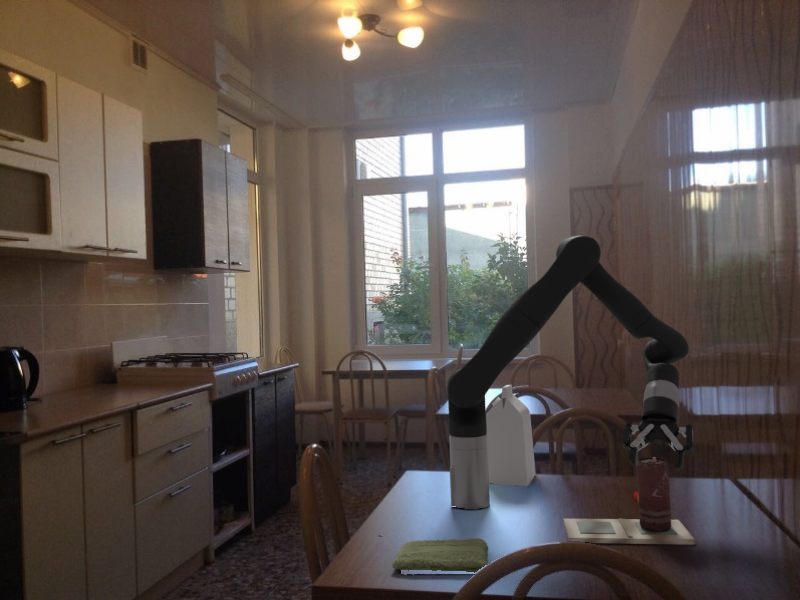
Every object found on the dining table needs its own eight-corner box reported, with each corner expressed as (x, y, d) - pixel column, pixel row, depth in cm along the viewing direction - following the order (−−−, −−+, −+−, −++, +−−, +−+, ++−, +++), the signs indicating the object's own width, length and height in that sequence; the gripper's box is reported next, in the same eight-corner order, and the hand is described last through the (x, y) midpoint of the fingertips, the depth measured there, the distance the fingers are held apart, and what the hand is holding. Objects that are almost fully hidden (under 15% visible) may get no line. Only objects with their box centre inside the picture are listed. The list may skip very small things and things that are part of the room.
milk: (527, 486, 174) (523, 388, 174) (485, 483, 178) (481, 388, 178) (535, 475, 185) (531, 383, 185) (495, 472, 189) (492, 383, 190)
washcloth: (400, 551, 131) (399, 535, 131) (488, 552, 129) (487, 535, 129) (391, 578, 118) (390, 560, 118) (489, 579, 116) (488, 561, 116)
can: (670, 523, 137) (667, 456, 137) (672, 533, 131) (669, 463, 131) (639, 521, 139) (636, 455, 139) (640, 531, 133) (636, 462, 133)
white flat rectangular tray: (569, 542, 131) (568, 536, 131) (563, 523, 143) (563, 517, 143) (694, 544, 128) (694, 537, 128) (678, 524, 139) (678, 518, 140)
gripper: (625, 394, 149) (617, 454, 139) (693, 395, 142) (690, 459, 132) (630, 413, 153) (623, 473, 143) (696, 416, 146) (694, 479, 136)
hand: (655, 467), depth 137 cm, fingers open, 8 cm apart
